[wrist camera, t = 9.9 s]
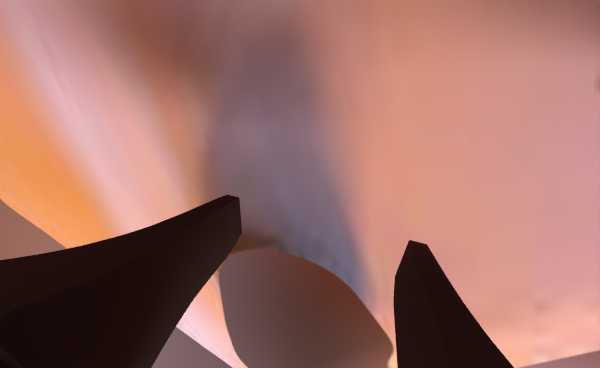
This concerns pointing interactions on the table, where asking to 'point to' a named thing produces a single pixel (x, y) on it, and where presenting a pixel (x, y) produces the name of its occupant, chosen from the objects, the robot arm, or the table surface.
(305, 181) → the table surface
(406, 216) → the table surface
